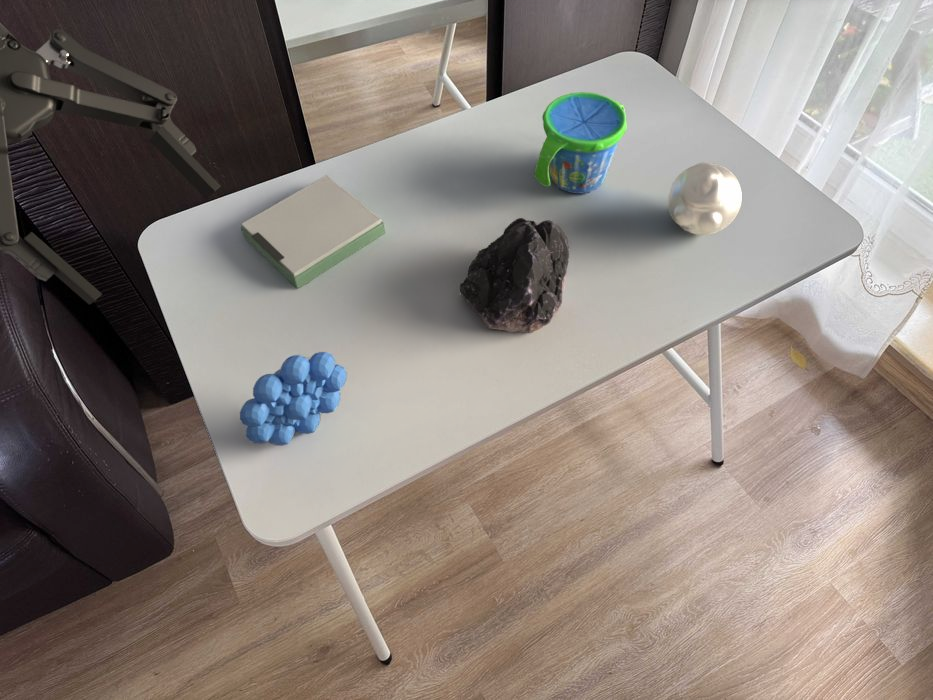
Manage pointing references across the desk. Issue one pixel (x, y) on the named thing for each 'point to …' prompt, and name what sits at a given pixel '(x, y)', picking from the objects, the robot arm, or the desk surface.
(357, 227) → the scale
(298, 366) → the grapes
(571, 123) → the snack cup
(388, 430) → the desk surface
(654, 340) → the desk surface
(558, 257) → the dark rock
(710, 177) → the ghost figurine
